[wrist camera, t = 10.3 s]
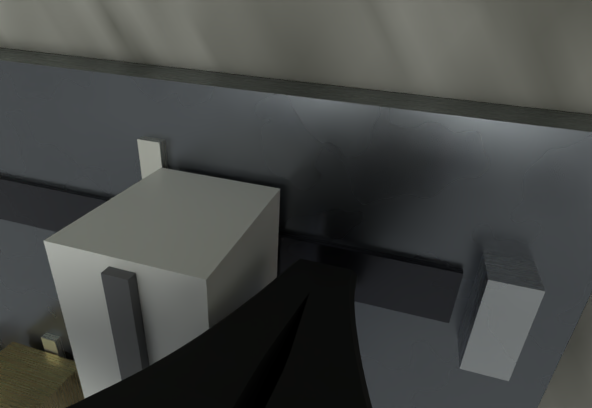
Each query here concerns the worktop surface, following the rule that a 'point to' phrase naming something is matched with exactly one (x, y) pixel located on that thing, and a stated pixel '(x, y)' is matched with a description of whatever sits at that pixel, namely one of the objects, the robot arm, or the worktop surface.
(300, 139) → the mixer panel
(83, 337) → the block
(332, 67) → the worktop surface
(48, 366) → the tan striped block
